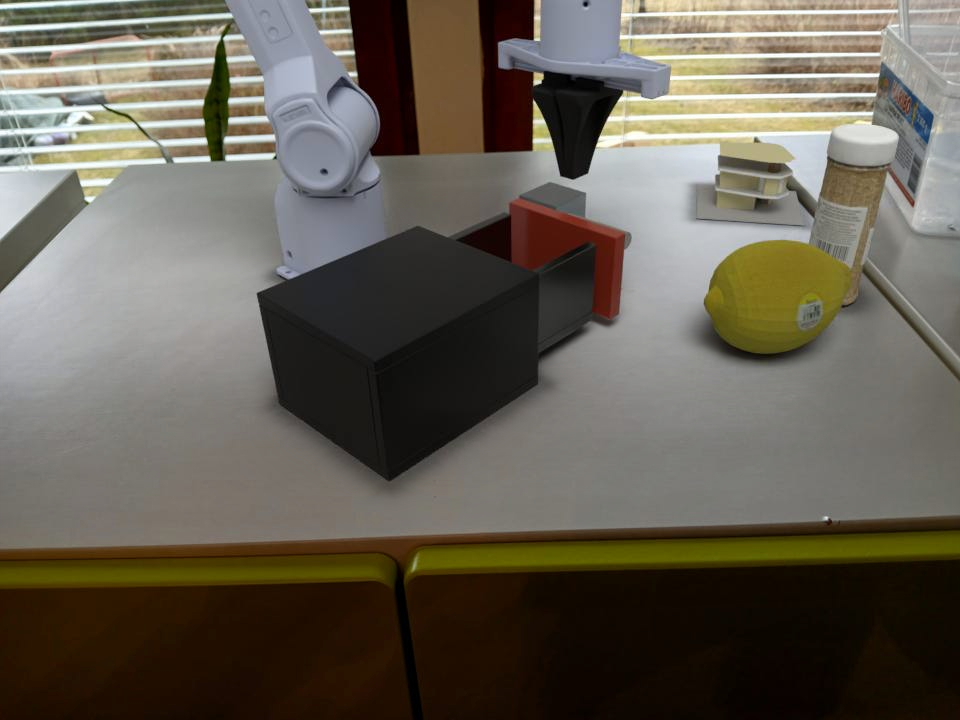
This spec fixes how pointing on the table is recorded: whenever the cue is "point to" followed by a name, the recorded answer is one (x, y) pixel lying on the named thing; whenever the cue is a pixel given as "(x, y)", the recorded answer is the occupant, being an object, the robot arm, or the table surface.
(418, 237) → the black drawer cabinet
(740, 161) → the stacked layers on plate
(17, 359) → the table surface
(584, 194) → the steel block
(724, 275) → the lemon
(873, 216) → the seasoning bottle
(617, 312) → the red-fronted pull-out drawer
